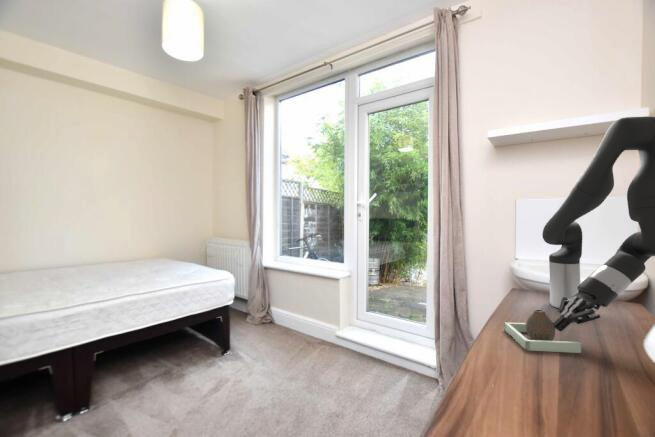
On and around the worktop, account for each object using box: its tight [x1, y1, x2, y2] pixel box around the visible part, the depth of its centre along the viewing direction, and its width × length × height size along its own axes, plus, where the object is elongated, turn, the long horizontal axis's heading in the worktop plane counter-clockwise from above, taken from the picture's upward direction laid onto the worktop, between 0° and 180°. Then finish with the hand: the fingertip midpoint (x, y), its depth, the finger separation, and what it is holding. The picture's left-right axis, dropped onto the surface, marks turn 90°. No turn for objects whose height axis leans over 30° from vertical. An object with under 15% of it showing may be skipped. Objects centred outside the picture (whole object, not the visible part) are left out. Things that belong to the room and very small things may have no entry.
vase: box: [525, 308, 556, 341], centre depth 84 cm, size 7×7×9 cm
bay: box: [503, 321, 582, 354], centre depth 84 cm, size 14×13×2 cm
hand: (555, 328), depth 83 cm, fingers closed
